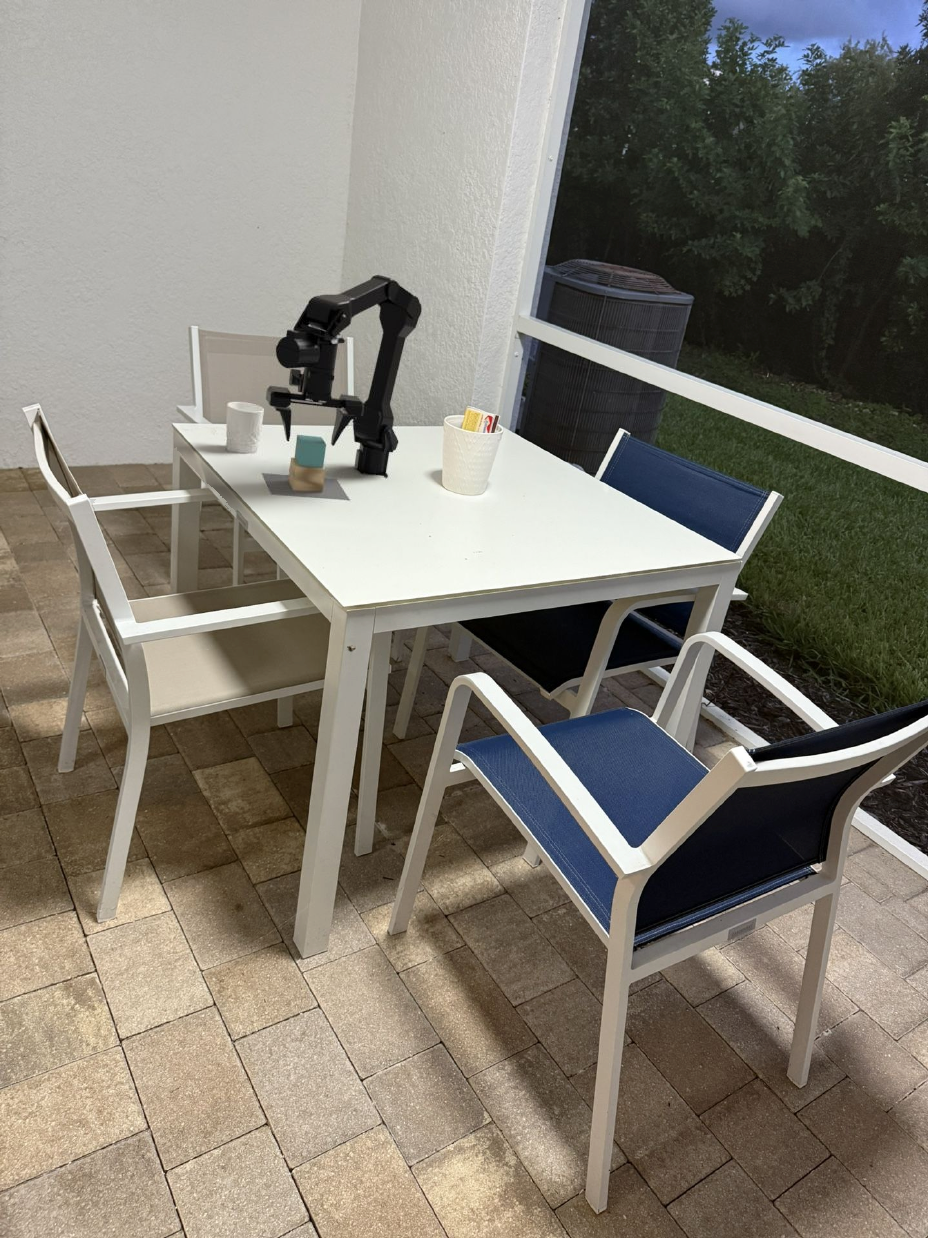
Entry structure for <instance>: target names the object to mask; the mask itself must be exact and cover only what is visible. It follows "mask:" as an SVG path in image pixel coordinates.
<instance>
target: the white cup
mask: <svg viewBox="0 0 928 1238" xmlns="http://www.w3.org/2000/svg"><path fill="white" fill-rule="evenodd" d="M226 407H227V408H226V433H225V434H226V443H225V444H226V447H225V448H226V450H227V449H228V450H227V452H230V451H231V453H238V454H239V453H241V454H251V455H252V454H254V453H256V452H257V453H258V449H259V442H260V441H261V439H260V438H261V433H262V428H263V419H264V413H265V409H264V407H262V406H260V405H258V404H255V403H250V402H245V401H232V402H231V401H230V402H228V403H227V405H226ZM257 453H256V454H257ZM254 455H255V454H254Z"/></svg>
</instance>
